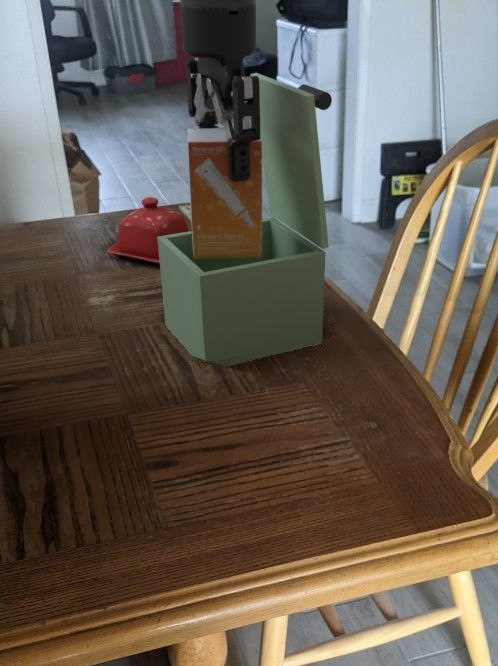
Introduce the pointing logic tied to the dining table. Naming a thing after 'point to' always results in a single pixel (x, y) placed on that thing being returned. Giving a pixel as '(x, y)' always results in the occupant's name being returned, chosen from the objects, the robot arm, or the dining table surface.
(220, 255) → the small box
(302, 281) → the chest
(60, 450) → the dining table surface
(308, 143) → the lid
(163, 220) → the butter dish
